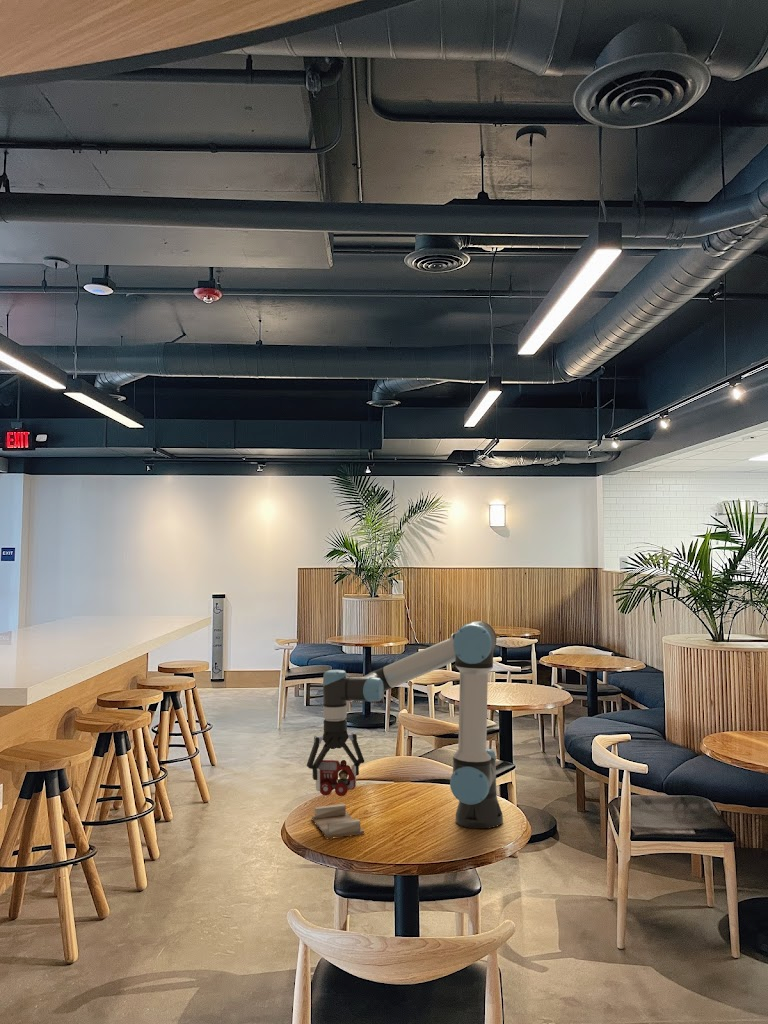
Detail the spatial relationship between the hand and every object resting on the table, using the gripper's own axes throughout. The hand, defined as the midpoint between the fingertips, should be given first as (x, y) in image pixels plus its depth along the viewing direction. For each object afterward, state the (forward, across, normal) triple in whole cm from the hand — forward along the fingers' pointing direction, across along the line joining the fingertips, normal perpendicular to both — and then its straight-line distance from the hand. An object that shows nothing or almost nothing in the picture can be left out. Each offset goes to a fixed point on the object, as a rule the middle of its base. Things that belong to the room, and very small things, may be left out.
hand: (336, 787), depth 246 cm
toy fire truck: (+2, 0, 0) cm, 2 cm away
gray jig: (+12, 0, 0) cm, 12 cm away
